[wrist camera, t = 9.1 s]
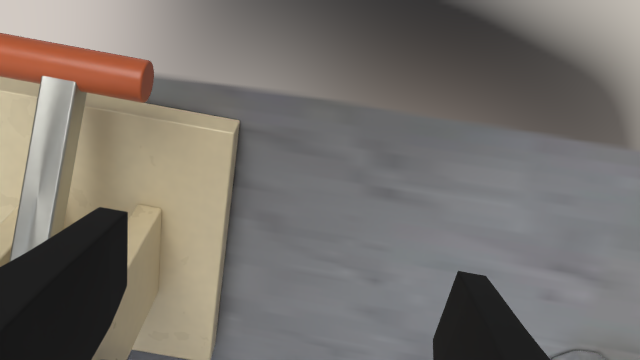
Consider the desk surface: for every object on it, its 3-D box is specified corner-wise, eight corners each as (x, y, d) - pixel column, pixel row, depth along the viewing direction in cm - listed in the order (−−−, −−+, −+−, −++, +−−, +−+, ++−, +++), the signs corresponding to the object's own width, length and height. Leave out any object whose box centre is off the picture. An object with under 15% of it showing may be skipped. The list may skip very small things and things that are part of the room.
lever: (10, 39, 19) (-32, 21, 17) (160, 67, 19) (140, 53, 17) (-50, 384, 20) (-99, 414, 17) (100, 409, 20) (72, 443, 17)
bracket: (-22, 71, 22) (-262, 212, 14) (240, 120, 22) (163, 287, 14) (8, 308, 28) (-146, 508, 20) (215, 344, 28) (150, 557, 20)
